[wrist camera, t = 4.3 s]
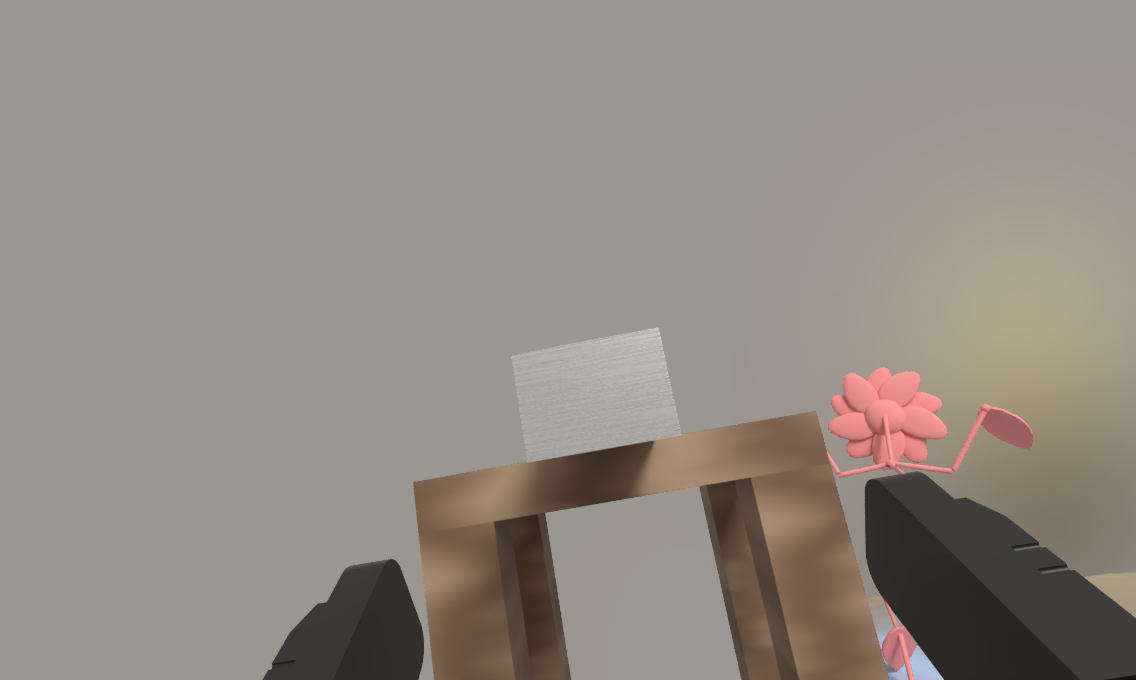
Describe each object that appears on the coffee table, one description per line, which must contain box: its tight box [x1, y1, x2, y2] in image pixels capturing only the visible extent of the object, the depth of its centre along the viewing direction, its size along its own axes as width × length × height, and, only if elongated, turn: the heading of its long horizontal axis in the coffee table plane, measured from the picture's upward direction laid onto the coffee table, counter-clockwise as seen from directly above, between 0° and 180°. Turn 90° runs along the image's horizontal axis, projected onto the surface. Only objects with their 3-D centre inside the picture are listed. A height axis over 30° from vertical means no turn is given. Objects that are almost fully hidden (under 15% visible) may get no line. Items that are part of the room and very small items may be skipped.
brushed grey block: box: [511, 328, 682, 463], centre depth 22 cm, size 20×6×3 cm, turn 175°
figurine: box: [827, 367, 1033, 680], centre depth 63 cm, size 15×26×35 cm, turn 58°
